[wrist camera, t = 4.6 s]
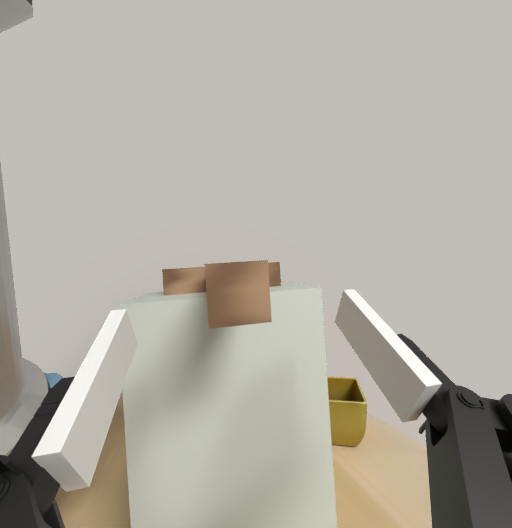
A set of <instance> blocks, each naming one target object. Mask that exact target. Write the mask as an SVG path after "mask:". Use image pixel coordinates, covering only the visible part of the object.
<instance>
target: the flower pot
mask: <svg viewBox="0 0 512 528" xmlns="http://www.w3.org/2000/svg"><path fill="white" fill-rule="evenodd" d="M327 381H328V396H329V411H330V426H331V441H332V444H333V445H344V446H353V447H356V446H358V445H359V443H360V442H361V441H362V439H363V437H364V434H365V430H366V416H367V401H366V399H365V397H364V394H363V392H362V390H361V388H360V385H359V382H358V380H357V379H356V378H344V377H343V378H342V377H327Z"/></svg>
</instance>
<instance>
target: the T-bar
mask: <svg viewBox="0 0 512 528" xmlns="http://www.w3.org/2000/svg"><path fill="white" fill-rule="evenodd" d="M162 272H163V288H164V296H165V295H177V294H189V293H202V292H206V293H207V309H208V325H209V329H213V328H222V327H231V326H240V325H249V324H258V323H267V322H272V317H271V302H270V287H274V286H281V279H280V264H279V262H275V263H268V260H264V261H248V262H231V263H216V264H205V267H198V268H197V267H196V268H180V269H164V270H162Z"/></svg>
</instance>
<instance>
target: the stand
mask: <svg viewBox="0 0 512 528" xmlns="http://www.w3.org/2000/svg"><path fill="white" fill-rule="evenodd" d="M270 302H271V317H272V322H267V323H258V324H249V325H240V326H231V327H222V328H213V329H209V325H208V309H207V293H206V292H202V293H189V294H177V295H165V296H164V292H158V293H157V292H156V293H148V294H145V295H142V296H140V297H137V298H134V299H132V300H129V301H127V302H124V303H121V304H119V305H117V308H118V310H122V309H126V310H127V313H128V316H129V319H130V322H131V325H132V328H133V331H134V335H135V338H136V341H137V347H136V350H135V353H134V356H133V359H132V362H131V365H130V368H129V371H128V374H127V377H126V380H125V382H124V385H123V388H122V391H123V407H124V424H125V440H126V457H127V474H128V490H129V507H130V523H131V528H337V517H336V502H335V487H334V472H333V457H332V441H331V426H330V411H329V396H328V381H327V366H326V351H325V337H324V321H323V305H322V290H321V287H317V286H310V285H305V284H300V283H294V282H282V283H281V286H274V287H270Z"/></svg>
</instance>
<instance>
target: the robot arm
mask: <svg viewBox="0 0 512 528" xmlns="http://www.w3.org/2000/svg"><path fill="white" fill-rule="evenodd" d="M32 17H33V8H32V0H0V33H1V32H3V31H5V30H7V29H9V28H11V27H13V26H15V25H17V24H19V23H21V22H23V21H26V20H28V19H30V18H32ZM12 274H13V273H12V264H11V255H10V247H9V237H8V228H7V219H6V211H5V201H4V192H3V183H2V173H1V165H0V528H65V526H64V524H63V521H62V518H61V515H60V512H59V509H58V506H57V503H56V501H55V500H54V498H55V496H56V494H57V491H58V489H59V486H60V487H61V488H62V489H63V490H64V491H65V492H68V491H73V490H78V489H82V488H87V487H90V484H91V481H92V478H93V475H94V472H95V469H96V466H97V463H98V460H99V457H100V454H101V451H102V448H103V445H104V442H105V439H106V436H107V433H108V430H109V427H110V424H111V421H112V418H113V415H114V412H115V409H116V406H117V403H118V400H119V397H120V394H121V391H122V388H123V385H124V382H125V380H126V377H127V374H128V371H129V368H130V365H131V362H132V359H133V356H134V353H135V350H136V347H137V341H136V338H135V335H134V331H133V328H132V325H131V322H130V319H129V316H128V313H127V310H126V309H122V310H112V311H111V312H110V314H109V316H108V317H107V319H106V321H105V323H104V325H103V327H102V328H101V330H100V332H99V334H98V336H97V338H96V339H95V342H94V343H93V345H92V347H91V349H90V350H89V352H88V354H87V356H86V358H85V360H84V362H83V363H82V365H81V367H80V369H79V371H78V372H77V374H76V376H75V377H70V378H63V377H62V376H61V375H60V374H57V373H50V374H47V373H43V372H42V370H41V369H40V368H39V367H38V366H37V365H35V364H34V363H32V362H30V361H28V360H25V359H23V358H22V354H21V345H20V336H19V327H18V318H17V309H16V300H15V291H14V283H13V275H12ZM335 322H336V324H337V326H338V327H339V329H340V330H341V331H342V333H343V334H344V336H345V337H346V339H347V340H348V342H349V343H350V345H351V346H352V348H353V349H354V351H355V352H356V354H357V355H358V357H359V358H360V360H361V361H362V363H363V364H364V365H365V367H366V369H367V370H368V371H369V373H370V374H371V376H372V377H373V379H374V381H375V382H376V384H377V385H378V386H379V388H380V389H381V391H382V392H383V394H384V395H385V397H386V398H387V400H388V401H389V403H390V404H391V406H392V407H393V409H394V410H395V412H396V413H397V415H398V416H399V418H400V419H401V421H402V422H407V421H413V420H417V419H418V417H419V416H420V415H421V413H423V414H424V415H425V416H426V418H427V420H426V421H425V422H424V423H423V425H422V426H421V427H420V429H419V433H420V434H422V433H423V431H424V430H425V429H426V443H427V457H428V471H429V486H430V500H431V514H432V528H512V394H507V395H504V396H503V397H502V398H501V399H500V400H494V399H487V398H481V397H480V396H478V395H477V394H476V393H474V392H473V391H471V390H469V389H467V388H465V387H462V386H456V385H455V384H454V383H453V382H452V381H451V380H450V379H449V378H448V377H447V376H446V375H445V374H444V373H443V372H442V371H441V370H440V369H439V368H438V367H437V366H436V365H435V364H434V363H433V362H432V361H431V360H430V359H429V358H427V357H426V355H425V354H424V353H423V352H422V351H420V349H419V348H418V347H417V346H416V344H415V343H413V341H411V340H410V339H408V338H407V337H405V336H404V335H402V334H398V335H396V334H395V333H394V331H393V330H392V329H391V328H390V327H389V326H388V325H387V324H386V323H385V322H384V321H383V320H382V319H381V318H380V317H379V316H378V314H377V313H376V312H375V311H374V310H373V309H372V308H371V307H370V306H369V305H368V304H367V303H366V302H365V300H364V299H363V298H362V297H361V296H359V294H358V293H357V292H356V291H355V290H354V289H353V290H344V291H343V294H342V298H341V301H340V305H339V309H338V313H337V316H336V320H335Z"/></svg>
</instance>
